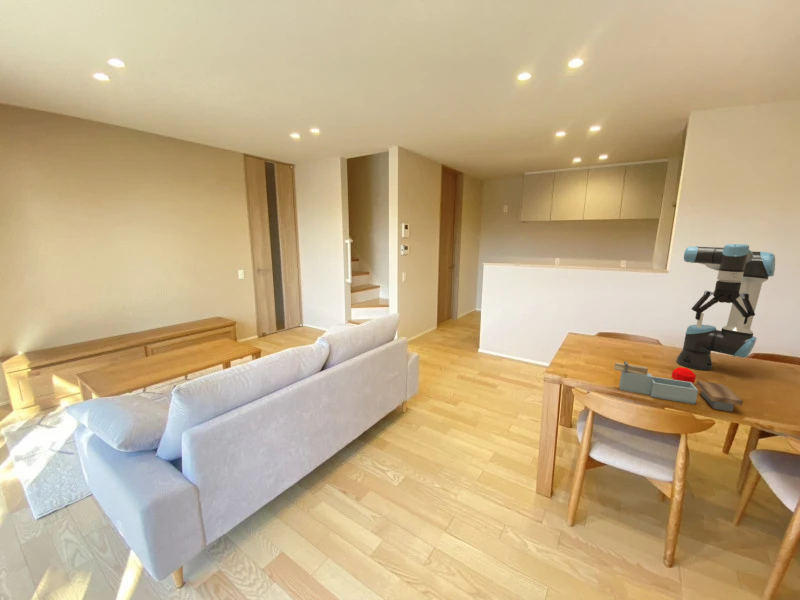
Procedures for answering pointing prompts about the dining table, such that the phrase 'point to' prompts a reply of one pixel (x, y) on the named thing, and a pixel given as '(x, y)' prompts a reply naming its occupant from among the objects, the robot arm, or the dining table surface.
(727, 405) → the block
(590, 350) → the dining table surface
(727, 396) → the lid
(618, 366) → the bar
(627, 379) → the grey block with peg
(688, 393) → the open box
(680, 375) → the ball
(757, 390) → the dining table surface
